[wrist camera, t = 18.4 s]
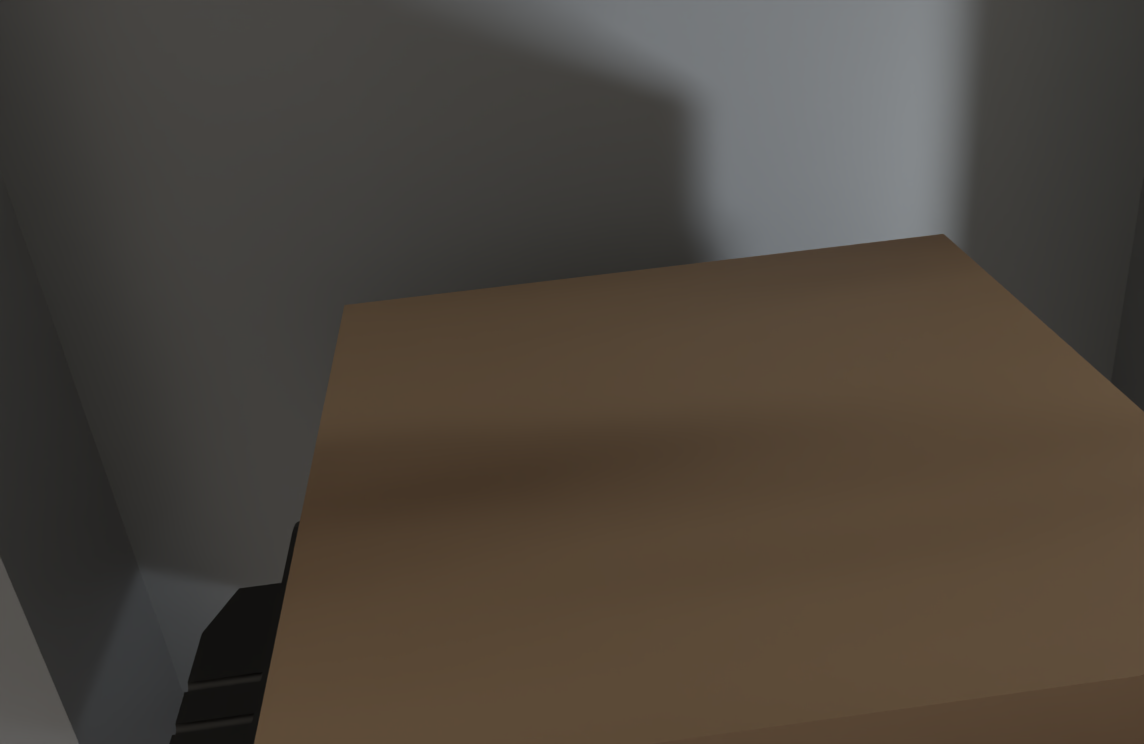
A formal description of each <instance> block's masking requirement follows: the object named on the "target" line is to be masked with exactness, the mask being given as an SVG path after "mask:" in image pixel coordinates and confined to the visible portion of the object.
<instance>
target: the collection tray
mask: <svg viewBox="0 0 1144 744" xmlns="http://www.w3.org/2000/svg"><path fill="white" fill-rule="evenodd" d="M938 234H944V235H946V236H947V237H948V238H949V239H950V240H951V241H952V242H953V243H955V244H956V245H957V246H958V247H959V248H960V249H961V250H962V251H964V252H965V253H966V254H967V255H968V256H969V257H970V258H971V259H973V260H974V261H975V262H976V263H977V264H978V265H979V266H980V267H982V268H983V269H984V270H985V271H986V272H987V273H988V274H989V275H991V276H992V277H993V278H994V279H995V280H996V281H997V282H998V283H1000V284H1001V285H1002V286H1003V287H1004V288H1005V289H1006V290H1007V291H1009V292H1010V293H1011V294H1012V295H1013V296H1014V297H1015V298H1016V299H1018V300H1019V301H1020V302H1021V303H1022V304H1023V305H1024V306H1025V307H1027V308H1028V309H1029V310H1030V311H1031V312H1032V313H1033V314H1034V315H1036V316H1037V317H1038V318H1039V319H1040V320H1041V321H1042V322H1043V323H1045V324H1046V325H1047V326H1048V327H1049V328H1050V329H1051V330H1052V331H1054V332H1055V333H1056V334H1057V335H1058V336H1059V337H1060V338H1061V339H1063V340H1064V341H1065V342H1066V343H1067V344H1068V345H1069V346H1070V347H1072V348H1073V349H1074V350H1075V351H1076V352H1077V353H1078V354H1079V355H1081V356H1082V357H1083V358H1084V359H1085V360H1086V361H1087V362H1088V363H1090V364H1091V365H1092V366H1093V367H1094V368H1095V369H1096V370H1097V371H1099V372H1100V373H1101V374H1102V375H1103V376H1104V377H1105V378H1106V379H1108V380H1109V381H1110V382H1111V383H1112V384H1113V385H1114V386H1115V387H1117V388H1118V389H1119V390H1120V391H1121V392H1122V393H1123V394H1124V395H1126V396H1127V397H1128V398H1129V399H1130V400H1131V401H1132V402H1133V403H1135V404H1136V405H1137V406H1138V407H1139V408H1140V409H1141V410H1142V411H1144V0H0V744H169V743H170V740H171V737H172V735H175V734H176V725H175V723H176V720H177V716H178V713H179V709H180V706H181V703H182V699H183V696H184V692H188V683H187V682H188V679H189V675H190V672H191V669H192V665H193V662H194V658H195V655H196V652H197V648H198V645H199V641H200V638H201V635H202V632H203V631H204V630H205V629H206V628H207V626H208V625H209V624H210V623H211V622H212V620H213V619H214V618H215V617H216V616H217V614H218V613H219V612H220V611H221V609H222V608H223V607H224V606H225V605H226V603H227V602H228V601H229V600H230V599H231V597H232V596H233V595H234V594H235V593H236V591H237V590H238V589H239V588H245V587H253V586H260V585H268V584H275V583H282V578H283V573H284V569H285V564H286V559H287V555H288V550H289V545H290V540H291V536H292V531H293V528H294V526H295V524H296V523H297V522H299V521H300V518H301V513H302V508H303V503H304V499H305V494H306V489H307V484H308V479H309V474H310V469H311V465H312V460H313V455H314V450H315V445H316V440H317V436H318V431H319V426H320V421H321V416H322V411H323V406H324V402H325V397H326V392H327V387H328V382H329V377H330V372H331V368H332V363H333V358H334V353H335V348H336V343H337V338H338V334H339V329H340V324H341V319H342V314H343V309H344V305H349V304H358V303H366V302H375V301H383V300H391V299H400V298H408V297H417V296H425V295H433V294H442V293H450V292H459V291H467V290H475V289H484V288H492V287H501V286H509V285H517V284H526V283H534V282H543V281H551V280H559V279H568V278H576V277H585V276H593V275H601V274H610V273H618V272H627V271H635V270H644V269H652V268H660V267H669V266H677V265H686V264H694V263H702V262H711V261H719V260H728V259H736V258H744V257H753V256H761V255H770V254H778V253H786V252H795V251H803V250H812V249H820V248H828V247H837V246H845V245H854V244H862V243H870V242H879V241H887V240H896V239H904V238H912V237H921V236H929V235H938Z"/></svg>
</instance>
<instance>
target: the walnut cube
mask: <svg viewBox="0 0 1144 744" xmlns="http://www.w3.org/2000/svg"><path fill="white" fill-rule="evenodd" d="M254 744H1144V411H1142V410H1141V409H1140V408H1139V407H1138V406H1137V405H1136V404H1135V403H1133V402H1132V401H1131V400H1130V399H1129V398H1128V397H1127V396H1126V395H1124V394H1123V393H1122V392H1121V391H1120V390H1119V389H1118V388H1117V387H1115V386H1114V385H1113V384H1112V383H1111V382H1110V381H1109V380H1108V379H1106V378H1105V377H1104V376H1103V375H1102V374H1101V373H1100V372H1099V371H1097V370H1096V369H1095V368H1094V367H1093V366H1092V365H1091V364H1090V363H1088V362H1087V361H1086V360H1085V359H1084V358H1083V357H1082V356H1081V355H1079V354H1078V353H1077V352H1076V351H1075V350H1074V349H1073V348H1072V347H1070V346H1069V345H1068V344H1067V343H1066V342H1065V341H1064V340H1063V339H1061V338H1060V337H1059V336H1058V335H1057V334H1056V333H1055V332H1054V331H1052V330H1051V329H1050V328H1049V327H1048V326H1047V325H1046V324H1045V323H1043V322H1042V321H1041V320H1040V319H1039V318H1038V317H1037V316H1036V315H1034V314H1033V313H1032V312H1031V311H1030V310H1029V309H1028V308H1027V307H1025V306H1024V305H1023V304H1022V303H1021V302H1020V301H1019V300H1018V299H1016V298H1015V297H1014V296H1013V295H1012V294H1011V293H1010V292H1009V291H1007V290H1006V289H1005V288H1004V287H1003V286H1002V285H1001V284H1000V283H998V282H997V281H996V280H995V279H994V278H993V277H992V276H991V275H989V274H988V273H987V272H986V271H985V270H984V269H983V268H982V267H980V266H979V265H978V264H977V263H976V262H975V261H974V260H973V259H971V258H970V257H969V256H968V255H967V254H966V253H965V252H964V251H962V250H961V249H960V248H959V247H958V246H957V245H956V244H955V243H953V242H952V241H951V240H950V239H949V238H948V237H947V236H946V235H944V234H938V235H929V236H921V237H912V238H904V239H896V240H887V241H879V242H870V243H862V244H854V245H845V246H837V247H828V248H820V249H812V250H803V251H795V252H786V253H778V254H770V255H761V256H753V257H744V258H736V259H728V260H719V261H711V262H702V263H694V264H686V265H677V266H669V267H660V268H652V269H644V270H635V271H627V272H618V273H610V274H601V275H593V276H585V277H576V278H568V279H559V280H551V281H543V282H534V283H526V284H517V285H509V286H501V287H492V288H484V289H475V290H467V291H459V292H450V293H442V294H433V295H425V296H417V297H408V298H400V299H391V300H383V301H375V302H366V303H358V304H349V305H344V309H343V314H342V319H341V324H340V329H339V334H338V338H337V343H336V348H335V353H334V358H333V363H332V368H331V372H330V377H329V382H328V387H327V392H326V397H325V402H324V406H323V411H322V416H321V421H320V426H319V431H318V436H317V440H316V445H315V450H314V455H313V460H312V465H311V469H310V474H309V479H308V484H307V489H306V494H305V499H304V503H303V508H302V513H301V518H300V523H299V528H298V533H297V537H296V542H295V547H294V552H293V557H292V562H291V567H290V571H289V576H288V581H287V586H286V591H285V596H284V601H283V605H282V610H281V615H280V620H279V625H278V630H277V635H276V639H275V644H274V649H273V654H272V659H271V664H270V668H269V673H268V678H267V683H266V688H265V693H264V698H263V702H262V707H261V712H260V717H259V722H258V727H257V732H256V736H255V741H254Z"/></svg>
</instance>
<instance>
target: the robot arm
mask: <svg viewBox="0 0 1144 744" xmlns="http://www.w3.org/2000/svg"><path fill="white" fill-rule="evenodd" d="M299 523H300V521H299V522H297V523H296V524H295V526H294V528H293V531H292V536H291V540H290V545H289V550H288V555H287V559H286V564H285V569H284V573H283V578H282V583H275V584H268V585H260V586H253V587H245V588H239V589H238V590H237V591H236V593H235V594H234V595H233V596H232V597H231V599H230V600H229V601H228V602H227V603H226V605H225V606H224V607H223V608H222V609H221V611H220V612H219V613H218V614H217V616H216V617H215V618H214V619H213V620H212V622H211V623H210V624H209V625H208V626H207V628H206V629H205V630H204V631H203V632H202V635H201V638H200V641H199V645H198V648H197V652H196V655H195V658H194V662H193V665H192V669H191V672H190V675H189V679H188V682H187V683H188V692H184V696H183V699H182V703H181V706H180V709H179V713H178V716H177V720H176V723H175V725H176V734H175V735H172V737H171V740H170V743H169V744H254V741H255V736H256V732H257V727H258V722H259V717H260V712H261V707H262V702H263V698H264V693H265V688H266V683H267V678H268V673H269V668H270V664H271V659H272V654H273V649H274V644H275V639H276V635H277V630H278V625H279V620H280V615H281V610H282V605H283V601H284V596H285V591H286V586H287V581H288V576H289V571H290V567H291V562H292V557H293V552H294V547H295V542H296V537H297V533H298V528H299Z"/></svg>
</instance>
